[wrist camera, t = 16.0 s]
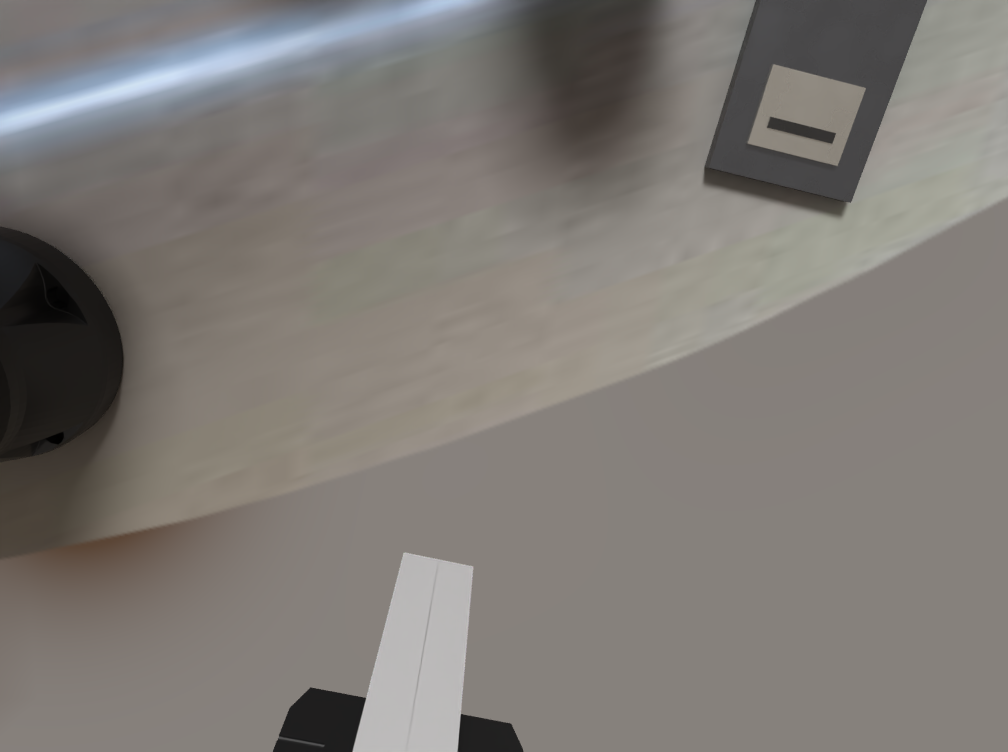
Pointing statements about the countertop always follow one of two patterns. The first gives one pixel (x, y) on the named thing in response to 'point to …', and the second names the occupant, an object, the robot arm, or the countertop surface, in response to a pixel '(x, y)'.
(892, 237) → the countertop surface
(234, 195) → the countertop surface
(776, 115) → the panel
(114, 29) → the countertop surface
